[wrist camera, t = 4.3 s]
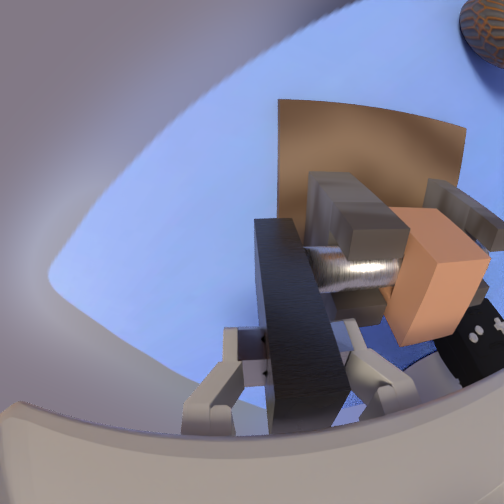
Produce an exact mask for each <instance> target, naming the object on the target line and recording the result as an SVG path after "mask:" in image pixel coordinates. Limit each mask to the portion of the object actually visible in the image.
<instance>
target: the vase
mask: <svg viewBox="0 0 504 504" xmlns="http://www.w3.org/2000/svg"><path fill="white" fill-rule="evenodd" d="M460 26H461V30H462V33H463V35H464V37H465V39H466V41H467V42H468V44H469V45H470V47H471V48H472V49H473V50H474V51H475V52H476V53H477V54H478V55H479V56H480V57H481V58H482V59H484V60H485V61H487V62H488V63H490V64H492V65H494V66H497V67H499V68H502V69H504V0H468V1H467V2H466V3H465V4H464V5H463V7H462V9H461V12H460Z"/></svg>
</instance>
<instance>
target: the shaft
mask: <svg viewBox="0 0 504 504" xmlns="http://www.w3.org/2000/svg"><path fill="white" fill-rule="evenodd" d="M474 242H475V243H476V244H477V245H478V246H479V247H480V248H481V249H482V250H483V251H484V252H485V253H486V254H487V255H488V256H489V252H488V249H486V248H485V247H484V246H483V245H482V244H481V243H480V242H479V241H478V240H477V241H474ZM254 243H255V284H256V295H257V306H258V317H259V327H264V334H265V336H264V343H265V344H266V355H267V370H266V386H265V396H266V407H267V418H268V429H269V434H281V433H291V432H300V431H308V430H315V429H322V428H328V427H331V425H332V423H333V422H334V420H335V418H336V417H337V415H338V413H339V411H340V410H341V408H342V406H343V404H344V402H345V401H346V399H347V397H348V395H349V393H350V391H351V387H350V384H349V381H348V377H347V374H346V371H345V367H344V364H343V361H342V358H341V355H340V351H339V348H338V345H337V342H336V339H335V336H334V333H333V330H332V327H331V324H330V321H329V318H328V315H327V312H326V309H325V306H324V303H323V300H322V297H321V294H320V293H330V292H342V291H353V290H364V289H375V288H385V287H394V286H395V283H396V280H397V278H398V274H399V271H400V268H401V265H402V262H403V259H404V255H405V254H404V255H403V258H396V259H380V260H363V261H347V259H346V257H345V256H344V254H343V252H342V250H341V248H340V247H339V246H314V247H303V245H302V242H301V240H300V237H299V235H298V232H297V229H296V227H295V224H294V222H293V219H292V218H268V219H254ZM487 268H488V267H487ZM486 270H487V269H486Z"/></svg>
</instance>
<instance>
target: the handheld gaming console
mask: <svg viewBox="0 0 504 504" xmlns="http://www.w3.org/2000/svg"><path fill="white" fill-rule="evenodd" d="M433 341H434V344H435V346H436V348H437V351H438V353H439V355H440V357H441V359H442V360H443V362H444V363H445V365H446V366H447V368H448V370H449V371H450V372H451V374H452V375H453V376H454V377H455V379H458V380H459V382H460V383H459V384H460V385H461V386H462V388H464V387H466V386H469V385H471V384H473V383H475V382H477V381H480V380H482V379H484V378H486V377H488V376H490V375H492V374H494V373H496V372H497V371H499V370H501V369H503V368H504V319H503V318H502V317H501V315H500V314H499V313H498V311H497V310H496V309H495V308H494V306H493V305H492V304H491V302H490V301H489V300H488V299H487V298H484V299H483V301H482V303H481V304H479V305H475V306H471V307H468V308H467V310H466V312H465V314H464V315H463V317H462V319H461V321H460V322H459V324H458V326H457V328H456V329H455V331H454V332H453V334H452V335H449V336H445V337H441V338H437V339H433Z"/></svg>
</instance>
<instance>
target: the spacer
mask: <svg viewBox="0 0 504 504" xmlns="http://www.w3.org/2000/svg"><path fill="white" fill-rule="evenodd" d="M389 208H390V209H391V210H392V211H393V212H394V213H395V214H396V215H397V216H398V217H399V218H400V219H401V220H402V221H403V222H404V223H405V224H406V225H407V226H408V227H409V228H410V233H409V237H408V241H407V245H406V248H405V252H404V254H405V255H404V259H403V262H402V265H401V268H400V271H399V274H398V278H397V280H396V283H395V286H394V287H385V288H379V290H380V292H381V294H382V295H383V297H384V299H385V301H386V303H387V306H386V309H385V312H384V316H385V318H386V320H387V322H388V324H389V326H390V328H391V330H392V332H393V334H394V336H395V338H396V340H397V343H398V345H399V347H404V346H408V345H413V344H417V343H421V342H425V341H429V340H433V339H437V338H441V337H445V336H449V335H452V334H453V332H454V331H455V329H456V328H457V326H458V324H459V322H460V321H461V319H462V317H463V315H464V314H465V312H466V310H467V308H468V306H469V304H470V302H471V301H472V299H473V297H474V295H475V293H476V291H477V289H478V287H479V285H480V282H481V280H482V278H483V276H484V274H485V272H486V269H487V267H488V265H489V262H490V260H491V258H490V257H489V256H488V255H487V254H486V253H485V252H484V251H483V250H482V249H481V248H480V247H479V246H478V245H477V244H476V243H475V242H474V241H473V240H472V239H471V238H470V237H469V236H468V235H467V234H465V233H464V232H463V231H462V230H461V229H460V228H459V227H458V226H457V225H455V224H454V223H453V222H452V221H451V220H450V219H449V218H447V217H446V216H445V215H444V214H443V213H441V212H440V211H439V210H438V209H436V208H410V207H389Z"/></svg>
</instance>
